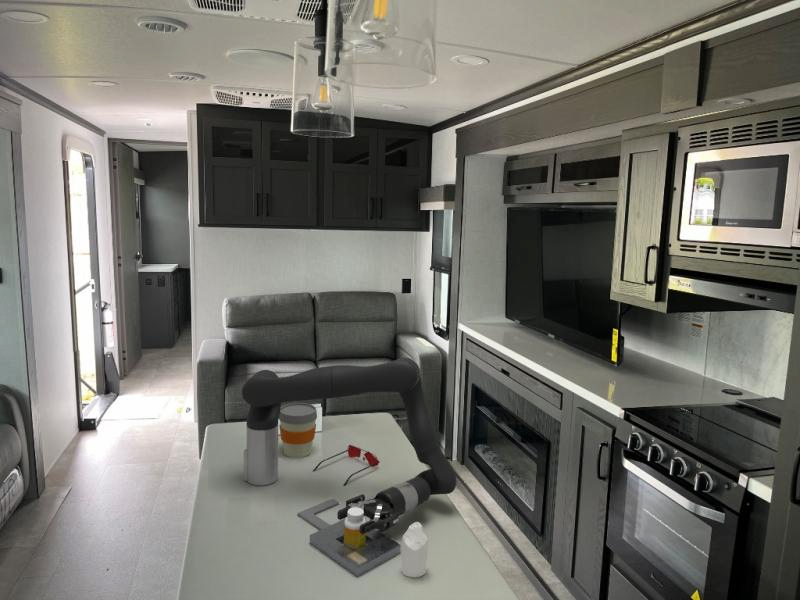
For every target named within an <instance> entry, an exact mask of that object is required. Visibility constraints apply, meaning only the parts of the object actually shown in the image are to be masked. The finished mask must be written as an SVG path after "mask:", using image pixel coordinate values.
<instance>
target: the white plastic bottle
mask: <svg viewBox="0 0 800 600" xmlns="http://www.w3.org/2000/svg"><path fill="white" fill-rule="evenodd" d="M401 540H402V541H401V548H402V549H401V566H400V570H401V573H402V574H403V575H404V576H406V577H409V578H420V577H422V576H424V575H426V572H427V567H428V566H427V565H428V563H427V562H428V547H429V542H428V541H429V539H428V537H427V535H426V533H425V532H424V529H423V525H422V524H421V522H418V521H415V522H412V523H411V524H410V525H409V527H408V529H406V531H405V533H403V535H402V539H401Z"/></svg>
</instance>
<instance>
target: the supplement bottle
mask: <svg viewBox="0 0 800 600" xmlns="http://www.w3.org/2000/svg"><path fill="white" fill-rule="evenodd" d="M344 519H345V522H344V543H343V545H345V546H346V547H348V548H349V549H351V550H352V551H355V550H357V549H359V548H361V547H363V546H365V545H366V533H364V534H361V533H360V525H361V524H364V523H366V522H367V520H366V518H365V516H364V511H363V509H362V507H361V508H357V507H354V508H350V509H349V510H348V513H347V517H346V518H344Z"/></svg>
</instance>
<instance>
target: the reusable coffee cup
mask: <svg viewBox="0 0 800 600" xmlns="http://www.w3.org/2000/svg"><path fill="white" fill-rule="evenodd" d="M317 411H318V410H317V407H316V406H314V405H313V404H309V403H304V402H293V403H288V404H284V405H282V406H281V409H280V415H279V419H278V421H279V425H278V428H279V434H280V440H281V442H282V447H283V454H284V455H285V456H286V457H288V458H297V459H298V458H300V459H301V458H304V457H307V455H308V456H309V455H310V454H311V453H312V448H313V441H314V439H315V434H316V428H317V424H316V420H317V418H318V413H317Z"/></svg>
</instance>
